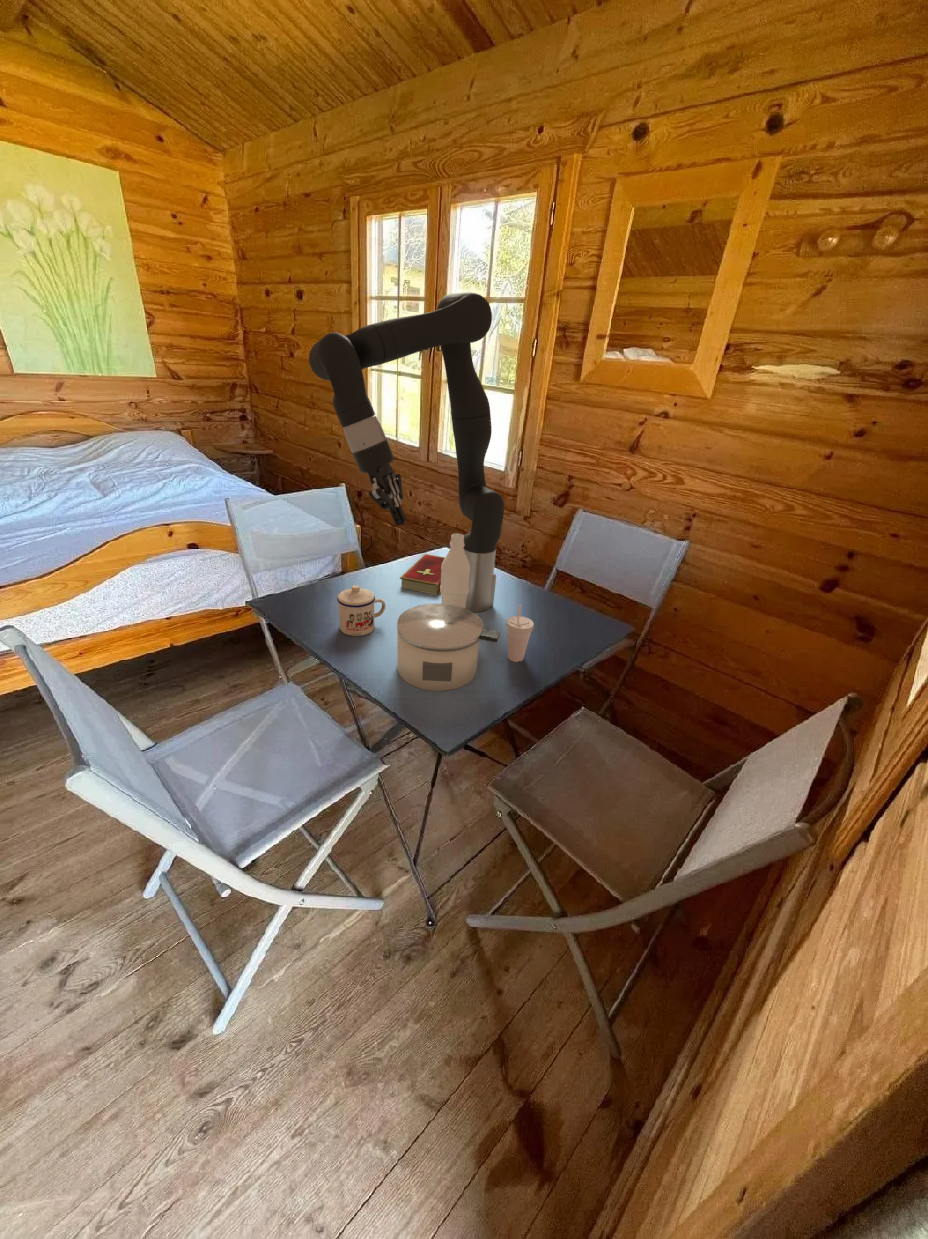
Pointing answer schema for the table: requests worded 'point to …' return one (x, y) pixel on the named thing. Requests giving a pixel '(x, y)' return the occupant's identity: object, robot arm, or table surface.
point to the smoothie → (518, 636)
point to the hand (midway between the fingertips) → (401, 523)
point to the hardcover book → (424, 575)
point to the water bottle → (455, 574)
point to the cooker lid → (442, 628)
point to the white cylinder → (436, 666)
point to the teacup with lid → (357, 611)
